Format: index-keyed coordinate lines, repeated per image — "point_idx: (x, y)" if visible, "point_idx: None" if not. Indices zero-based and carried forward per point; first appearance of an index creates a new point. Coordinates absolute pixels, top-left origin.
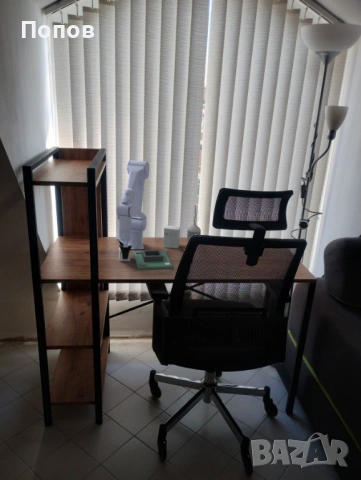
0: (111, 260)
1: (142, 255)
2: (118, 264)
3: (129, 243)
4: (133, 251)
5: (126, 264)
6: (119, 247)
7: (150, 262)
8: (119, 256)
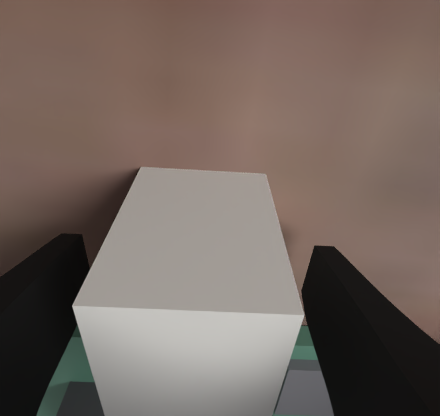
0: (167, 39)
1: None
2: (6, 138)
3: None
4: None
5: (29, 233)
6: (280, 322)
7: (57, 410)
8: (122, 206)
